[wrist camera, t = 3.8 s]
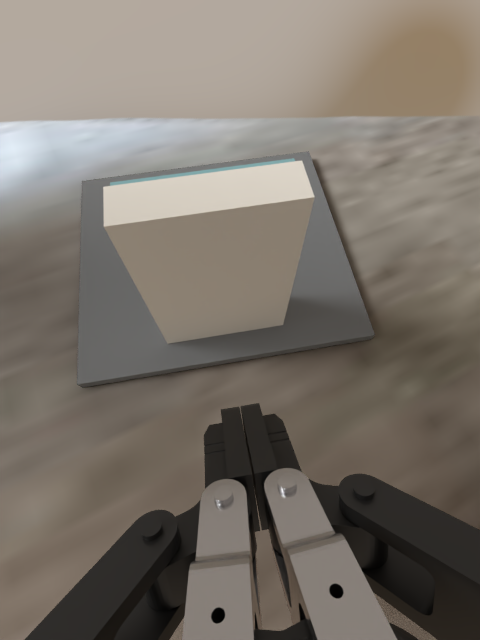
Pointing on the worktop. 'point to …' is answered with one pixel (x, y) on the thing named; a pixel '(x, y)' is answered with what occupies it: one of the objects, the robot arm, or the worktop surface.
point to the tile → (212, 244)
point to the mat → (160, 358)
